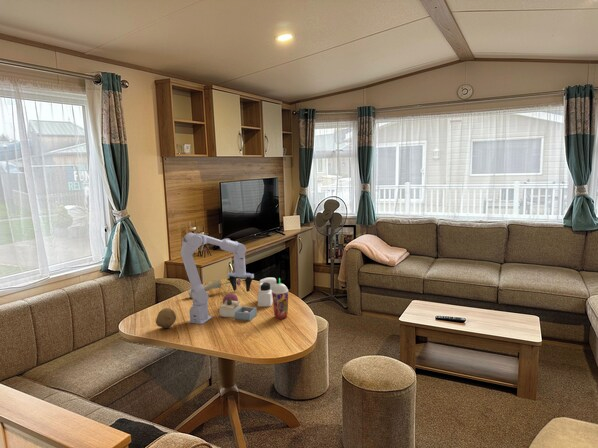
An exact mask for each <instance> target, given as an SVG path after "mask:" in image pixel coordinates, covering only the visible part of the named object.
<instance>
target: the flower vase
mask: <svg viewBox="0 0 598 448" xmlns="http://www.w3.org/2000/svg"><path fill="white" fill-rule="evenodd" d="M241 279H242V277H239V278H237V279H236V286H237V287H240V286H241V284H242V281H243V282H245V279H246V278H244V279H242V280H241ZM226 280H227V281H225V283H221V280H220V279H219V277H218V278H216V279H215V280H213V281H212V282H211V283H210V282H209V283H208V284H206V285H203V287H204V289H205V291H206V292H208V291H210V290H213V289H214V290H215V289H220V288H222V286H223V287H224V285H225V287H227V288H229V289H227V290H228V292H229V291H231V293H233V292H234V290H232V289H231V286H230V285H229V286H228V285H227V284H230V281H229V277H227V279H226ZM187 292H188V296H189V298H190V299H193V298H192V297H191V289H188V290H187ZM229 293H230V292H229Z"/></svg>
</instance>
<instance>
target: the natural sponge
mask: <svg viewBox="0 0 598 448" xmlns="http://www.w3.org/2000/svg"><path fill="white" fill-rule="evenodd" d="M176 321H177V315H176V313H175V311H174V310H173V309H172V308H169V307H167V308H166V307H165V308H162V309H160V311H159V312H158V313H157V316H156V318H155V324H156V326H158V327H159V328H162V329H165V328H168V329H169V327H170V328H171V327H172V326H173V325H174V323H175V322H176Z"/></svg>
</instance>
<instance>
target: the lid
mask: <svg viewBox="0 0 598 448" xmlns="http://www.w3.org/2000/svg"><path fill="white" fill-rule="evenodd" d="M237 305H240V301H239V300H238V301H232V300H231V298H227V300H226V301H225V302H224V303H223V302H222V304H221V305H220V307H219V309H229V310H234V308H235V307H236V306H237Z"/></svg>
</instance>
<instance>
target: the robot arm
mask: <svg viewBox="0 0 598 448" xmlns="http://www.w3.org/2000/svg"><path fill="white" fill-rule="evenodd" d="M181 240H182V242H181V243H182V244H181V249H180V256H181V260H182V262H183V266H184V269H185V271H186V275H187V277H188V281H189V284H190V288H189V290H191V297H192V298H191V299H192V306H191V307H190V309H189V310H188V311H189V312H188V313H189V321H188V323H189V324H197V325H203V324H205V323H206V322H207V321H210V320H211V319H212V318H213V316H211V315H209V305H208V302H209V298H210V296H209V294H208V291H205V289H204V287H203V286H204V285H203V284H202V281H201V278H200V274H199V272H198V268H197V265H196V261H195V259H194V256H193V255H194V253H195V252H196V250H198V249H199V248H200V247H201V246H202V245H203V246H204V245H206V244H210V245H214V246H218V247H219V248H220V250H222V251H225V252H229V253H233V262H234V272H228V273H227V274H226V275H227V278H229V280H228V282H229V284H231V287H232V291H233V292H235V291H237V289H238V286H237V281H236V280H237V279H238V278H241V279H244V280H245V281H244V284H245V290H246V292H247V293H248V292H249V291H250V289H251V284H252V281H253V279H254V278H255V274H254V273H250V272H247V271H246V268H247V267H246V253H247V251H248V250H247V247H246V245H245V244H243V243H240V242H238V241H237V240H235V241H234V240H231V238H227V237H226V238H223V239H218V238H215V237H212V236H208V235H206V234H202V233H194V232H191V231H190V232H187V233H186V234H185V235H184V237H183V238H182V239H181ZM245 278H246V279H245Z"/></svg>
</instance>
